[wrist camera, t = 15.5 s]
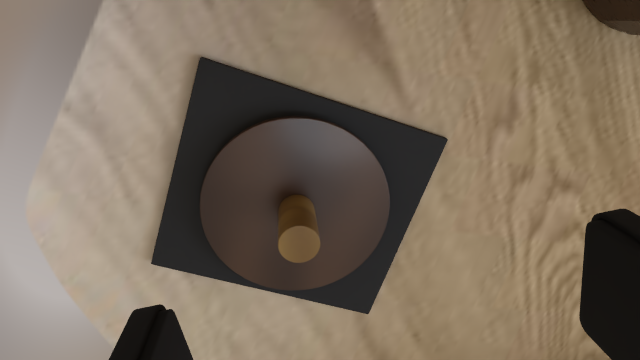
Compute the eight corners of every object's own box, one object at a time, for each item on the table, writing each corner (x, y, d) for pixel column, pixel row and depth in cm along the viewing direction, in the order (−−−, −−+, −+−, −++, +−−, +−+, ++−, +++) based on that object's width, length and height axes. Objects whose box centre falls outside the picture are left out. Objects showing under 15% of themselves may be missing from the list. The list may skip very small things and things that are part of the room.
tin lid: (213, 287, 33) (199, 341, 28) (190, 117, 28) (168, 141, 23) (382, 276, 34) (402, 326, 29) (390, 110, 29) (415, 131, 24)
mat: (152, 260, 32) (150, 264, 32) (201, 56, 27) (199, 57, 27) (367, 310, 36) (368, 314, 35) (445, 137, 31) (448, 139, 30)
